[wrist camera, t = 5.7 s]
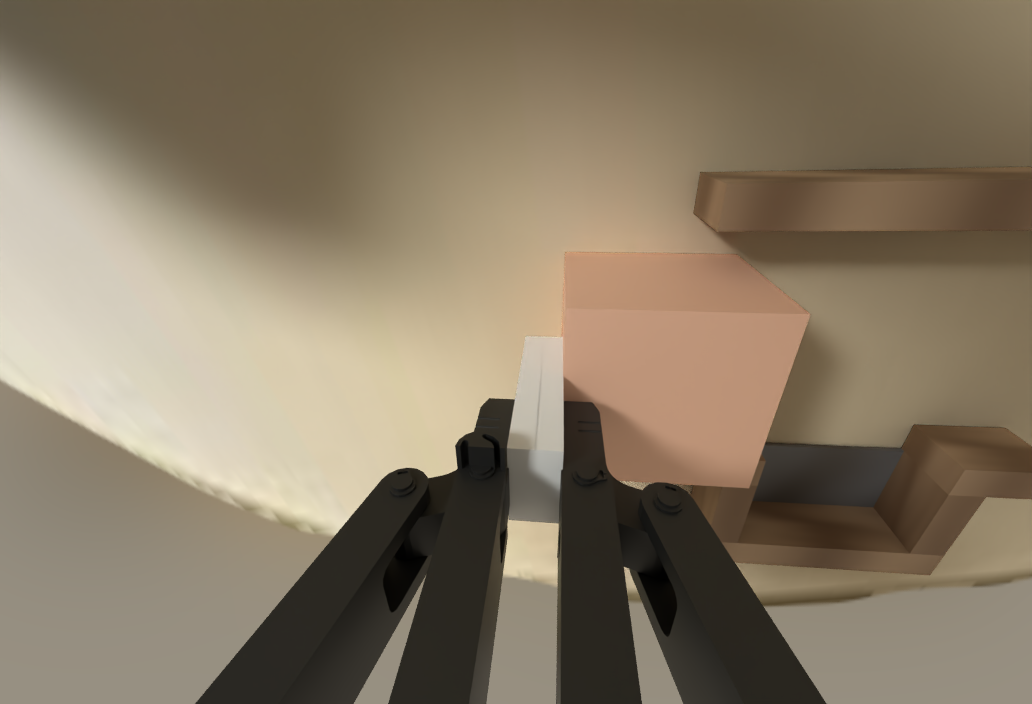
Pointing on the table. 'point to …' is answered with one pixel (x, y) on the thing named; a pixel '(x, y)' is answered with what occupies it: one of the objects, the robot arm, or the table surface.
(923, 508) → the open wooden frame
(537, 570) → the table surface
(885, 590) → the table surface
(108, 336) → the table surface
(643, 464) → the block
